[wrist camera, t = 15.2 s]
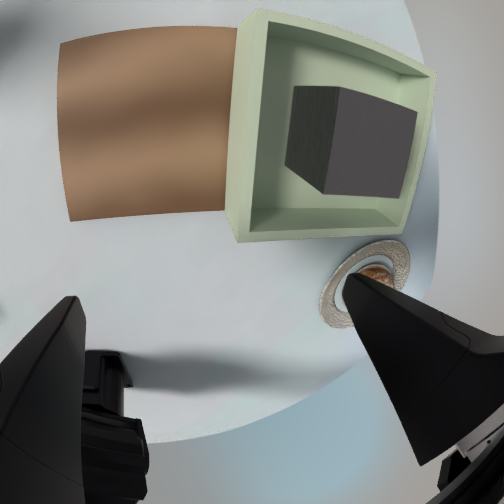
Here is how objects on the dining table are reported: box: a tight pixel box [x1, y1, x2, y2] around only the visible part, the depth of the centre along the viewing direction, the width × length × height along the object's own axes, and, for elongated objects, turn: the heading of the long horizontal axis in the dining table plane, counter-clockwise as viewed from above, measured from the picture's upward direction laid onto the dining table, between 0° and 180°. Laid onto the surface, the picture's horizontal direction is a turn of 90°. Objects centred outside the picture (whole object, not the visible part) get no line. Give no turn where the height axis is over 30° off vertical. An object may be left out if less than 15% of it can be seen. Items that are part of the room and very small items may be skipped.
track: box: [57, 26, 237, 222], centre depth 16 cm, size 12×24×1 cm, turn 85°
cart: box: [225, 9, 437, 243], centre depth 15 cm, size 14×12×4 cm
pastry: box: [319, 240, 410, 328], centre depth 26 cm, size 12×12×5 cm
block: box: [284, 86, 418, 199], centre depth 13 cm, size 5×5×5 cm
